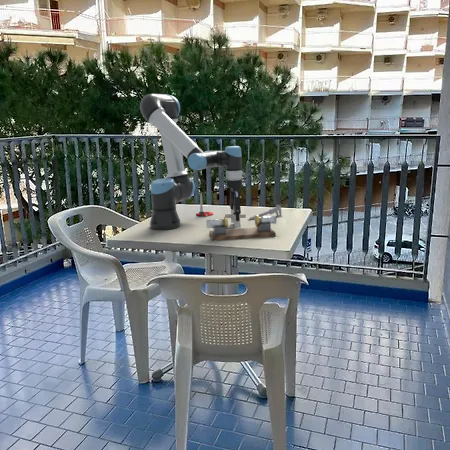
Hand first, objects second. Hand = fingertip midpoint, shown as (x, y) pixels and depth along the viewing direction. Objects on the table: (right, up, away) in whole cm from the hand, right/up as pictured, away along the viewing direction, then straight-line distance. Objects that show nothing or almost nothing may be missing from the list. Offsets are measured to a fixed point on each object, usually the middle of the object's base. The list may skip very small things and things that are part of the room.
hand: (235, 224), depth 206 cm
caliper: (+16, +3, +17) cm, 23 cm away
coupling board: (+2, -5, -16) cm, 17 cm away
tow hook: (-16, +5, +30) cm, 34 cm away
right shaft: (+13, -2, -15) cm, 20 cm away
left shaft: (-9, -4, -18) cm, 20 cm away
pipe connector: (0, -1, 0) cm, 1 cm away
